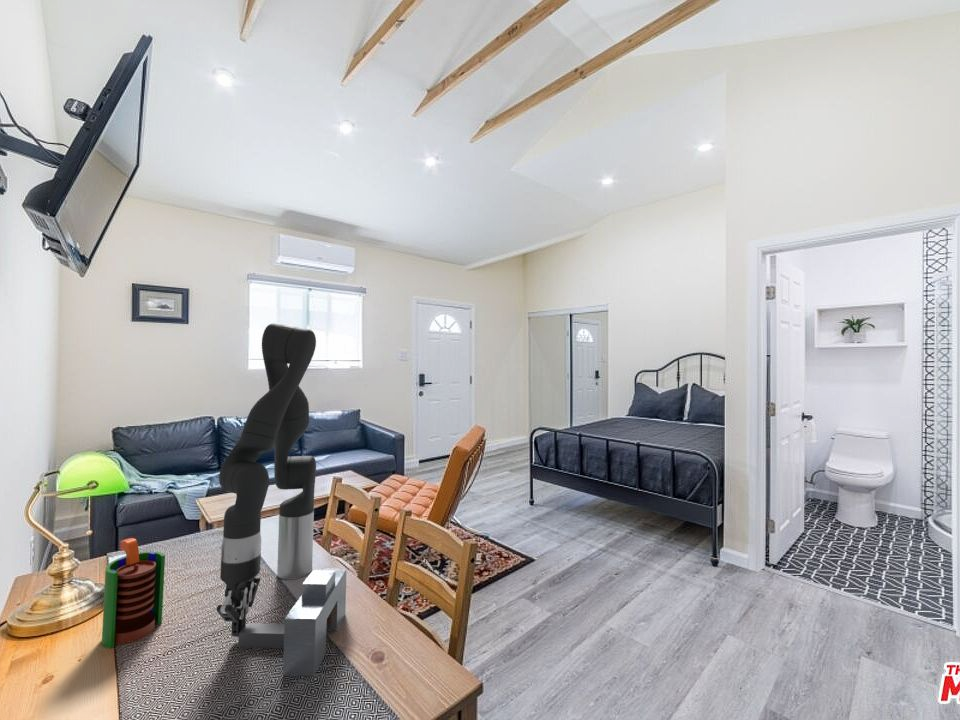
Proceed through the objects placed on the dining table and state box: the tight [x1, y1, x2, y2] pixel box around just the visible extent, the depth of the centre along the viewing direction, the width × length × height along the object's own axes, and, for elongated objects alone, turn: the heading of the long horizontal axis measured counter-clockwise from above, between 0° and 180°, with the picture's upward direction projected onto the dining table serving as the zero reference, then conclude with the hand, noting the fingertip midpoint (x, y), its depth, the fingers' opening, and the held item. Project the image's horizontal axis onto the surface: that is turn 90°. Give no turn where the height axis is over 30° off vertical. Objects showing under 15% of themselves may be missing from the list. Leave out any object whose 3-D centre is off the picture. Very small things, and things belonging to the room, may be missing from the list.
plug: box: [237, 622, 284, 649], centre depth 90 cm, size 17×4×5 cm, turn 91°
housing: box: [282, 567, 348, 677], centre depth 90 cm, size 6×20×14 cm, turn 1°
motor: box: [101, 537, 166, 649], centre depth 92 cm, size 10×9×20 cm
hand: (238, 634), depth 90 cm, fingers closed
